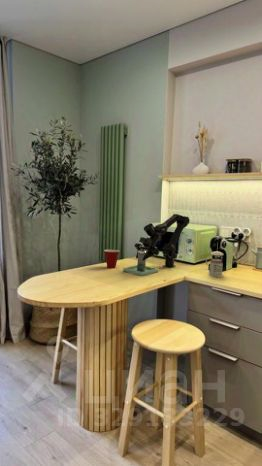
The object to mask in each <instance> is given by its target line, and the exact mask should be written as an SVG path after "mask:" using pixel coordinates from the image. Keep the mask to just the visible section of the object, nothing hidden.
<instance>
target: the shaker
mask: <svg viewBox="0 0 262 466" xmlns="http://www.w3.org/2000/svg"><path fill="white" fill-rule="evenodd" d="M146 253H147V250H138V258H137V263H136V265H137V271H140V272H144V271H145V266H146V264H147V259H146V260H143V258H144V256H145V254H146Z"/></svg>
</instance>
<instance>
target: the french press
mask: <svg viewBox="0 0 262 466" xmlns="http://www.w3.org/2000/svg"><path fill="white" fill-rule="evenodd" d="M216 239H220V236H216ZM218 245H219V243H217V248H216V249H219V248H218ZM212 256H216V257H219V256H221V257H222V256H224V253H223V252H221V251H218V250H216V251H212V252H211V253H210V255H208V256H207V257H206V259H205V263H206V265H207V267H209V271H208V273H207V275H208V276H211V277H215V276H217V278H218V277H219V278H220V277H224V275H223V265H224V264H223V263H224V262H223V260H222V259H219V258H212ZM209 258H210V263H209V265H208V259H209Z"/></svg>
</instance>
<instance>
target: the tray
mask: <svg viewBox="0 0 262 466" xmlns="http://www.w3.org/2000/svg"><path fill="white" fill-rule="evenodd" d="M122 269H123V271H122V272H125V273H128V274H131V275H135V276H139V277H144V276H148V275H152V274H155V273H159V268H156V267H151V266H147V265H145V271H144V272H140V271H137V264H136V265H132V266H126V267H123V268H122Z"/></svg>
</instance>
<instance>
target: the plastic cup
mask: <svg viewBox="0 0 262 466" xmlns="http://www.w3.org/2000/svg"><path fill="white" fill-rule="evenodd" d="M103 251H104V254H105V263H106V267H107V268H108V269H116V267H117V263H118V258H119V257H118V256H119V254H120V252H121V251H120V250H119V249H118V250H117V249H104V250H103Z"/></svg>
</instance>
